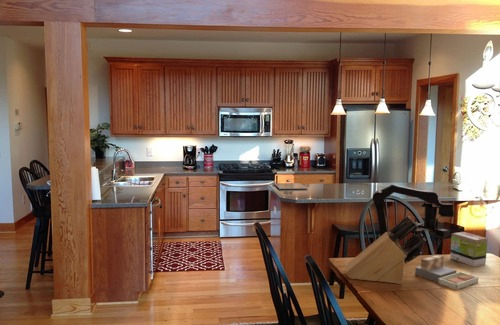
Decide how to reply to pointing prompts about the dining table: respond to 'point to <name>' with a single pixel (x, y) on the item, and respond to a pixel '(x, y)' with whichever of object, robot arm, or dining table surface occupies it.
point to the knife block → (387, 255)
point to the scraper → (432, 262)
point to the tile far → (465, 277)
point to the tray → (446, 283)
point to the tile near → (455, 280)
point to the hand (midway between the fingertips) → (428, 246)
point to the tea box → (468, 248)
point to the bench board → (435, 272)
